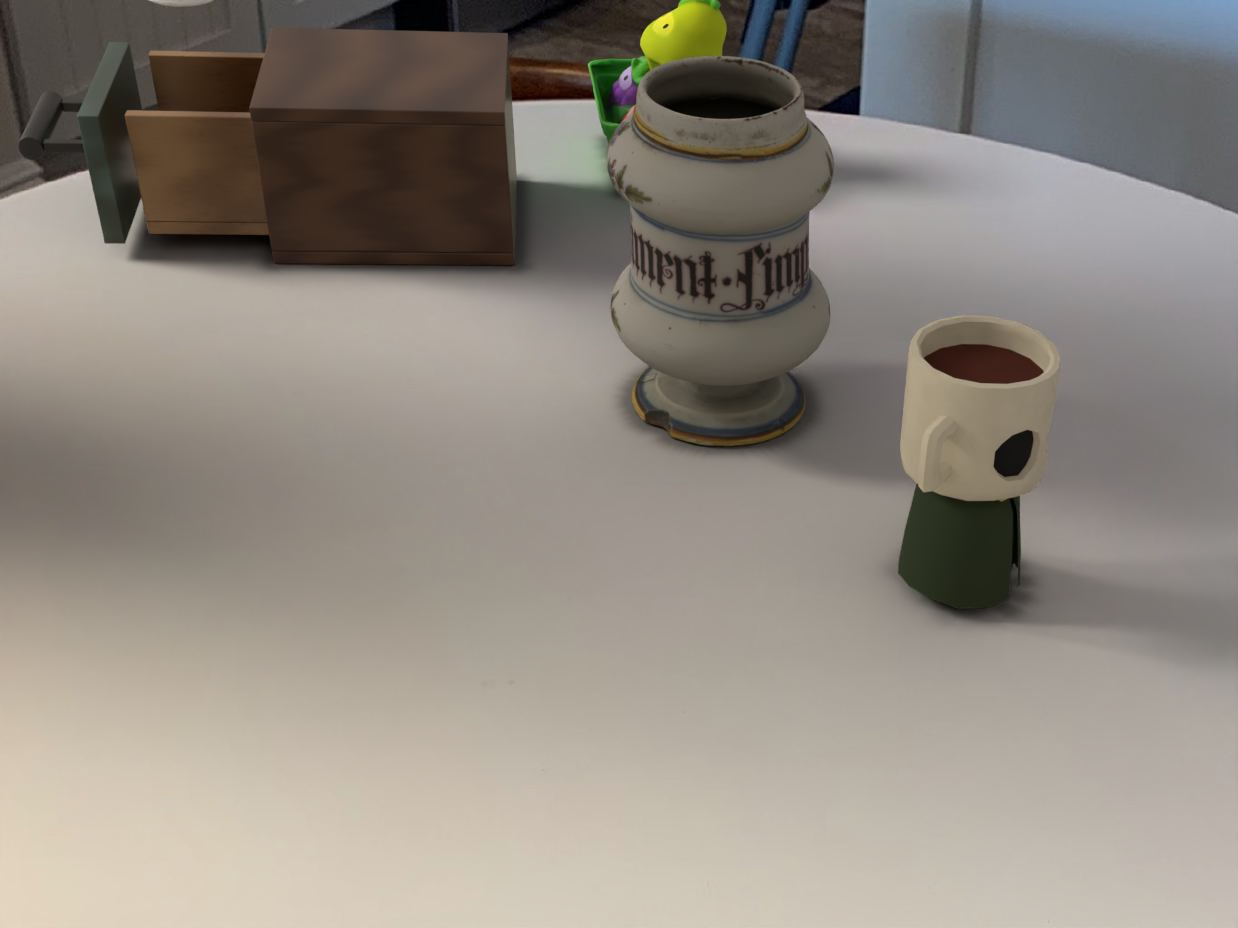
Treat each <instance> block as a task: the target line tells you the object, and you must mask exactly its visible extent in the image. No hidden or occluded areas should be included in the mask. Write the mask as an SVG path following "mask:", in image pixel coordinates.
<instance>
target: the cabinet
mask: <svg viewBox="0 0 1238 928" xmlns="http://www.w3.org/2000/svg"><path fill="white" fill-rule="evenodd" d="M509 46H510V45H509V34H508V32H479V31H478V32H477V31H476V32H474V31H435V30H434V31H433V30H432V31H431V30H394V29H393V30H392V29H391V30H390V29H385V30H384V29H354V28H353V29H350V28H349V29H348V28H347V29H346V28H345V29H344V28H305V27H304V28H303V27H271V29H270V33H269V36H268V39H267V43H266V46H265V47H266V48H265V49H264V50H265V51H264V53H265V54H264V58H263V61H262V65H261V68H260V72H259V75H258V79H257V82H256V86H255V90H254V93H253V97H252V100H251V104H250V107H249V110H250V117H251V121H252V122H251V123H252V129H253V135H254V142H255V148H256V155H257V161H258V167H259V174H260V180H261V187H262V193H263V199H264V206H265V212H266V218H267V225H268V231H269V235H268V237H269V245H270V250H271V256H272V263H273V264H313V265H314V264H315V265H316V264H317V265H321V264H322V265H323V264H324V265H325V264H326V265H327V264H328V265H433V266H434V265H435V266H436V265H447V266H448V265H449V266H451V265H452V266H455V265H456V266H465V265H466V266H515V258H516V256H515V255H516V224H517V221H516V219H517V189H518V187H517V186H518V185H517V184H518V177H517V175H518V174H517V173H518V172H517V159H516V158H517V157H516V143H515V142H516V141H515V127H514V125H515V124H514V111H513V94H512V79H511V77H512V76H511V63H510V47H509Z"/></svg>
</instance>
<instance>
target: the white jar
mask: <svg viewBox="0 0 1238 928" xmlns="http://www.w3.org/2000/svg"><path fill="white" fill-rule="evenodd" d="M147 1H149V2H151V3H154V4H158V5H161V6H165V7H176V8H178V7H179V8H182V7H185V8H186V7H197V6H202V5H206V4H209V3H211V2H214V1H215V0H147Z"/></svg>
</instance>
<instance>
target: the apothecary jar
mask: <svg viewBox="0 0 1238 928" xmlns="http://www.w3.org/2000/svg"><path fill="white" fill-rule="evenodd" d="M804 94H805V93H804V89H803V87H802V84H801V83H800V81H799V80H798V79H797V78H796V77H795V76H794V75H793V74H792V73H791V72H790V71H787V70H785V69H784V68H781V67H779V66H777V65H774V64H771V63H769V62H766V61H762V60H759V59H754V58H749V57H748V58H747V57H741V56H730V55H729V56H728V55H722V56H702V57H692V58H685V59H679V60H675V61H671V62H668V63H664V64H662V65H659V66H657V67H655V68H653V69H652V70H650V71H649V72H648V73H647V74H645V76H644V77H643V78H642V79H641V81H640V83H639V86H638V90H637V97H636V104H635V107H634V110H633V112H632V113H631V114H630V115H629V116H627V117H626V118H625V119H624V120H623V121H622V122H621V124H620V125H619V126H618V127H617V129H616V130H615V132H614V133H613V135H612V137H611V139H610V142H609V144H608V145H607V150H606V170H607V173H608V177H609V179H610V181H611V184H612V185H613V187H614V188H615V190H616V192H617V193H618V195H620V196H621V198H622V199H623V200H624V201H625V202H626V203H627V204H629V213H630V214H629V215H630V255H631V257H630V260H631V261H630V263H629V264H628V265H627V266H625V268H624V269H623V271H622V272H621V274H620V275H619V277H618V278H617V280H616V282H615V284H614V286H613V288H612V292H611V296H610V301H609V302H610V303H609V310H610V317H611V322H612V325H613V327H614V331H615V332H616V334H617V336H618V338H619V340H620V341H621V342H622V343H623V345H624V346H625V347H626V348H627V349H628V351H630V352H631V354H633V355H634V356H635V357H636V358H637V359H639V360H640V361H641V362H642V363H644V364H645V365H646V366H648V368H646V369H645V370H644V371H642V372H641V374H640V375H639V376H638V377H637V379H636V380H635V381H634V384H633V387H632V391H631V403H632V406H633V408H634V410H635V412H636V414H637V415H638V416H639V418H640V419H641V420H642V421H643V422H645V423H647V424H649V425H653V426H657V427H662V428H663V429H665V430H666V431H667V433H668V436H669V437H671V438H673V439H676V440H679V441H682V442H685V443H691V444H695V445H700V446H707V447H739V446H746V445H747V446H748V445H754V444H759V443H763V442H766V441H769V440H772V439H775V438H778V437H779V436H781V435H783V434H785V433H786V432H788V431H790V430H791V429H792V428H793V427H795V425H797V423H799V421H800V420H801V418H802V417H803V415H804V412H805V409H806V397H805V396H806V395H805V392H804V389H803V387H802V386H801V384H800V383H799V381H798V380H797V379H796V378H795V377H794V376H793V375H791V373H789V372H790V371H791V370H794V369H795V368H797V367H798V366H800V365H802V364H804V362H805V361H807V360H808V359H809V358H810V357H812V355H813V354H814V353H815V352H817V350H818V349H819V347H820V346H821V345H822V343H823V341H824V340H825V338H826V336H827V333H828V332H829V328H830V325H831V317H832V316H831V315H832V314H831V304H830V300H829V296H828V292H827V291H826V288H825V287H824V285H823V283H822V281H821V280H820V279H819V277H818V276H817V274H816V273H815V272H814V271H813V270H812V268H811V267H810V254H809V253H810V211H812V210H813V209H815V208H816V207H817V206H818V205H819V204H820V203H821V202H822V201H823V199H824V198H825V197H826V195H827V193H828V192H829V190H830V188H831V185H832V182H833V178H834V174H835V173H834V172H835V160H834V159H835V158H834V154H833V151H832V148H831V145H830V142H829V141H828V139H827V138H826V135H825V134H824V132H822V130H821V129H820V128H819V127H818V126H817V125H816V123H814V122H813V121H812V120H811V119H809V117H808V116H807V113H806V110H805V95H804Z"/></svg>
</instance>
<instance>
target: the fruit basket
mask: <svg viewBox="0 0 1238 928" xmlns="http://www.w3.org/2000/svg"><path fill="white" fill-rule="evenodd" d="M721 6H722V4H721V2H720V0H680V1H679V2H678V6H677V7H676V8H674V9H673V10H671V11H669V12H667V13H665V14H663V15H661V16H660V17H658V18H656V19H655V20H653V21H652V22H651V23H649V24H648V25H647V26H646V28H645V29H644V31H643V33H642V35H641V37H640V41H639V45H640V48H641V50H642V52H643V54H644V55H641V56H640V57H637V58H636V57H633V58H606V59H594V60H591V61H589V62H588V63H587V67H588V71H589V77H590V81H591V84H592V89H593V95H594V102H595V105H596V109H597V112H598V118H599V122H600V126H601V130H602V133H603V135H604V136H605V137H606V141H607V143H608V145H609V142H610V139H611V137H612V135H613V133H614V132H615V130H616V129H617V127H618V126H619V125H620V124H621V122H622V121H623V120H624V119H625V118H626V117H627V116H629V115H630V114H631V113H632V112H633V110H634V107H635V104H636V97H637V90H638V86H639V83H640V81H641V79H642V78H643V77H644V76H645V74H647V73H648V72H649V71H650V70H652V69H653V68H655V67H657V66H659V65H662V64H664V63H668V62H671V61H675V60H679V59H685V58H692V57H702V56H723V46H724V43H725V40H726V35H727V27H728V26H727V22H726V19H725V18H724V15H723V13H722V11H721V10H720V8H721Z"/></svg>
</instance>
